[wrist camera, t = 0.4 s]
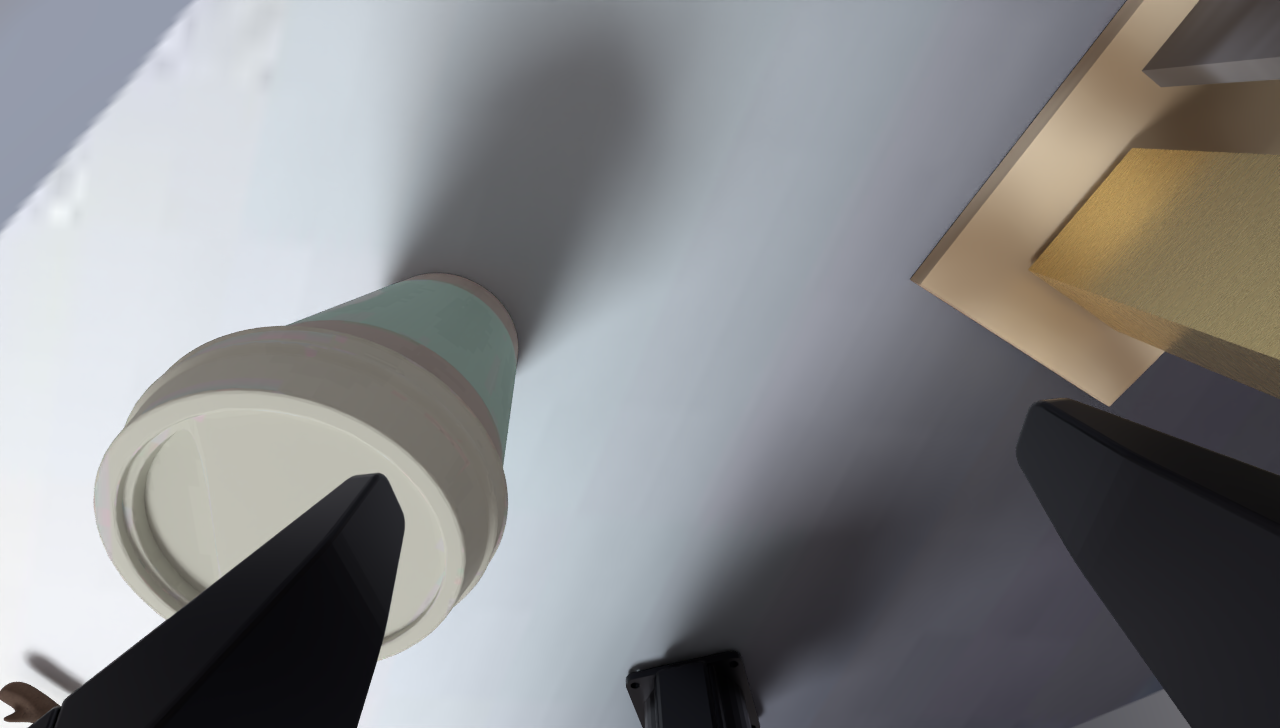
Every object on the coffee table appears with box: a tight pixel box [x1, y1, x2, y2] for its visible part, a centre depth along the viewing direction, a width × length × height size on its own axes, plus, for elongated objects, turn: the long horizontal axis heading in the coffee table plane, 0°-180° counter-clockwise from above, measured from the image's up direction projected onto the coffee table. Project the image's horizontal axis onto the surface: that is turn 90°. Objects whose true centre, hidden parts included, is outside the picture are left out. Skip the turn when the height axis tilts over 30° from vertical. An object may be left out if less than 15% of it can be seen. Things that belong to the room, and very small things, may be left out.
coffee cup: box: [94, 273, 518, 661], centre depth 17 cm, size 8×8×12 cm
